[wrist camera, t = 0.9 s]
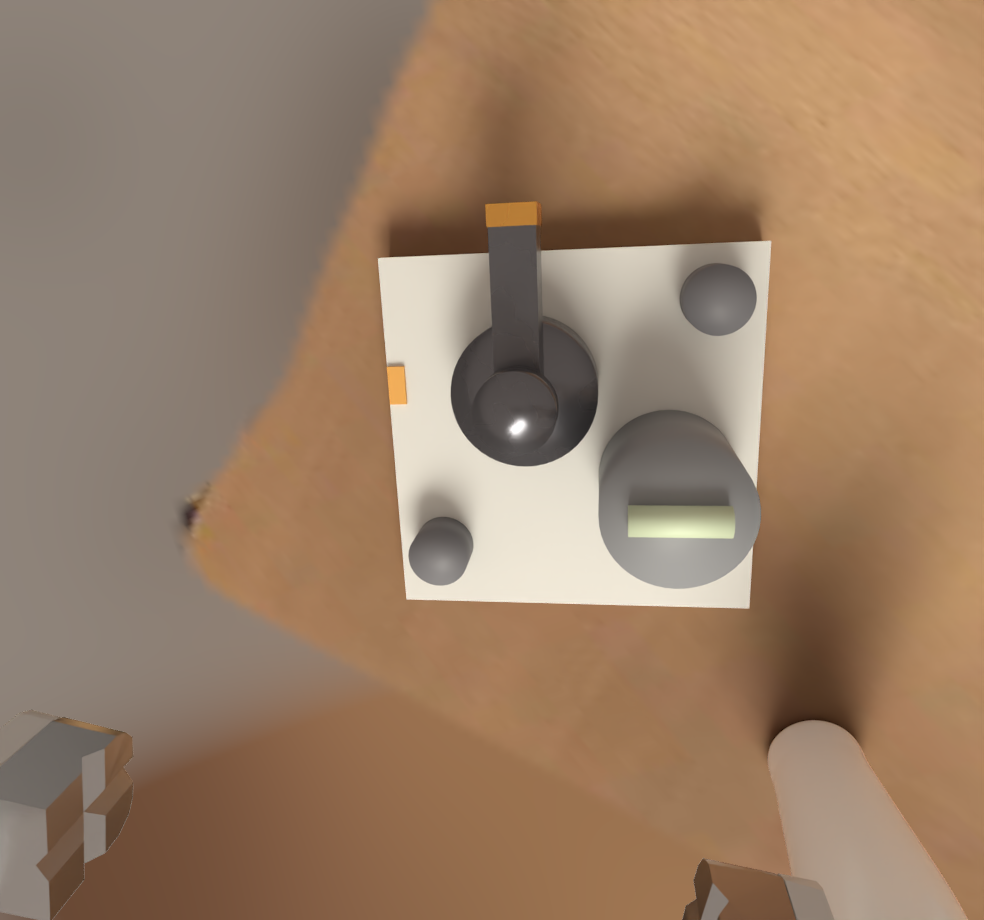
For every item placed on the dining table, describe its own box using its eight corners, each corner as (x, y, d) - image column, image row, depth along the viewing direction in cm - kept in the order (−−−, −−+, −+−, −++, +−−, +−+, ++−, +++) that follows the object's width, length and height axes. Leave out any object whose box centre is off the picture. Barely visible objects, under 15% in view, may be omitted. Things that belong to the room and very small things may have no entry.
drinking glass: (744, 711, 44) (814, 939, 29) (865, 697, 42) (999, 928, 28) (761, 805, 45) (834, 1064, 31) (878, 795, 44) (1011, 1060, 30)
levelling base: (762, 240, 36) (814, 241, 27) (742, 591, 42) (780, 686, 33) (388, 257, 39) (326, 262, 30) (414, 583, 44) (368, 669, 36)
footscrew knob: (598, 449, 38) (598, 493, 31) (465, 450, 39) (437, 493, 32) (597, 204, 35) (597, 195, 28) (452, 212, 36) (418, 205, 29)
